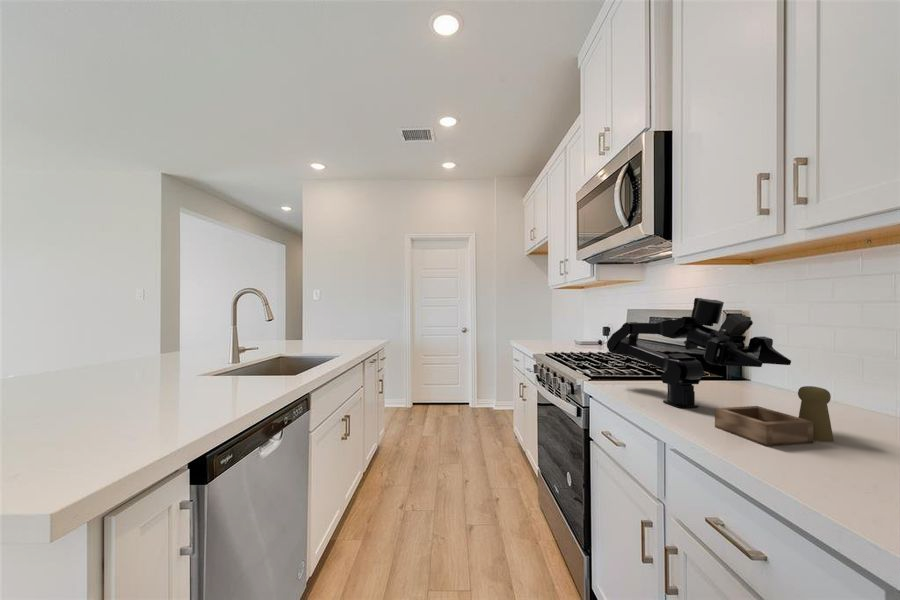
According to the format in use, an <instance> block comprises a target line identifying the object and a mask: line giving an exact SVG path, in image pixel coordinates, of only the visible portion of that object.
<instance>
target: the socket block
mask: <svg viewBox="0 0 900 600" xmlns="http://www.w3.org/2000/svg"><path fill="white" fill-rule="evenodd" d="M798 417H799V416H794V415H792V414H791V415H790V414H788V413H783V412H779V411H776V410H773V409H770V408H765V407H762V406H758V405H750V406H749V405H748V406H747V405H746V406H731V407H729V406H728V407H714V428H717V429H719V430H721V429H722V430H721V431H724V432H727V433H729V432H730V434H732V435H734V434H735V435H734V436H738V437H740V438H742V437H743V438H742V439H745V440H747V441H751V442H754V443H756V444H757V445H758V444H759V445H761V446H764V447H776V446H790V445H791V446H792V445H802V444H813V443H814V440H813V421H809V420H806V419H802V418H798Z"/></svg>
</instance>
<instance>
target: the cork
mask: <svg viewBox="0 0 900 600" xmlns="http://www.w3.org/2000/svg"><path fill="white" fill-rule="evenodd" d="M797 396H798V398H799V400H801V402H800V407H799V413H798V416H797V417H798V418H802V419H806V420H809V421H813V441H818V442H825V443H826V442H827V443H829V442H834V441H835V440H834V434H833V430H832V429H833V428H832V425H831V423H832V422H831V419H830V418H831V417H830V412H829V406H828V404H829V403H830V401H831V399H832V397H831V393H830V392H829V390H827V389H825V388H823V387H819V386H810V385H803V386H800V388H798V391H797Z"/></svg>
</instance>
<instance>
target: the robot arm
mask: <svg viewBox="0 0 900 600" xmlns="http://www.w3.org/2000/svg"><path fill="white" fill-rule="evenodd" d="M724 304H725V303H724V302H723V301H721V300H718V299H708V298H702V297H694V300H693V308H692V312H691V316H683V317H680V318H669V319H665V320H661V321H658V322H636V321H634V322H633V321H627V322H624V323H623V324H622V325H621V327H620V328H619V329H617V330H616V331H615V332H614V333H612V334H611V336H610V337H609V338H608V339H607V343H606V347H607V349H608V352H609V353H611V354H613V355H614V354H615V355H621V356H623V355H624V356H630V357H633V358H634V359H637V360H640V361H642V362H644V363H647V364H650V365H653V366H655V367H656V368H657V367H658V368H660V369H662V370H663V372H662V374H661V375H660V378H661V381H662V383H663V384H667V399H664V400H662V403H664V404H668V405H670V406H673V407H675V408H678V409H679V408H680V409H683V408H685V409H686V408H687V409H689V408H699V407H700V406H699V404H696V403H695V398H696V395H695V394H696V393H695V391H694V390H695V386H694V385H699V383H700V382H701V380H702V377H703V376H704V373H705V372H704V367H703V365H702V362H701V361H700V360H698V359H697V357H696V356H690V355H688V354H686V353H668V354H667V353H666V354H665V353H663V352H660V351H657V350H654V349H651V348H648V347H645V346H643V345H641V344H638V343H637V342H638V341H639V335H644V334H645V335H659V336H660V335H661V336H662V337H664V338H669V339H672V340H673V339H674V340H675V339H676V340H677V339H686V340H684V341H683V344H684V347H685V350H687V351H688V350H689V351H690V350H691V351H692V350H698V347H700V348H701V349H704V355H703V360H705V361H704V362H706V363H708V364H710V365H712V366H717V365H718V366H722V367H723V366H727V367H750V368H751V367H752V368H754V367H755V368H761V367H763V364H767V365H782V366H784V365H785V366H791V363H792V360H791V359H790V358H788V357H787V356H785V355H783V354H782V353H780V352H779V351H778V350H776V349H775V348H774V346H773V344H774V340H773V339H772V338H771V337H767V336H765V335H764V336H754V337H752V338H750V339H749V342H748V345H745V341H746V339H747V338H746V337H747V336H746V335H744V334H745V333H746V332H747V331H748V330H749V329H750V328H751V327H752V325H753V323H754V322H753V320H752V318H751V316H747V315H743V314H741V313H731V314H729V315H728V316H727V317H726V319H724V321H723V322H722V324H721V325H720V327H719V330H717V329H714V328H711V327H713V326H714V324H715V325H718V324H719V322H720V319H721V316H722V315H721V314H722V311H723V307H724Z"/></svg>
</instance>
